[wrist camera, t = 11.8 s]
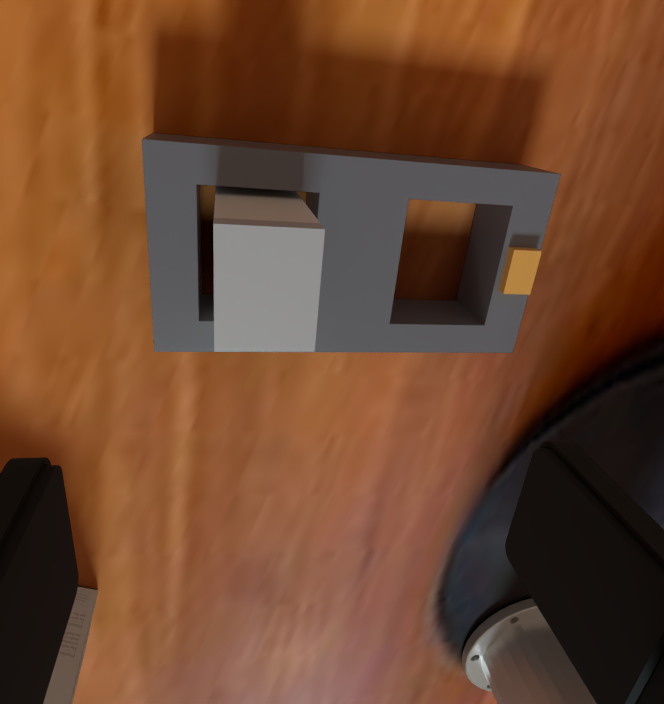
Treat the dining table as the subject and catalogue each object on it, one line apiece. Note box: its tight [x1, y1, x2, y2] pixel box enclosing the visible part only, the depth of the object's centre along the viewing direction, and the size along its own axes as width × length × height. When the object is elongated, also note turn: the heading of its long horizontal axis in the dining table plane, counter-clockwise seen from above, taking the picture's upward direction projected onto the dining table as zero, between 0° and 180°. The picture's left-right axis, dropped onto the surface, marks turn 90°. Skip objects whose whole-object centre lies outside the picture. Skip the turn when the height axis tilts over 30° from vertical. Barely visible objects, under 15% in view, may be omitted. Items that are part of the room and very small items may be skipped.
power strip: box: [142, 133, 561, 353], centre depth 28 cm, size 20×10×5 cm, turn 84°
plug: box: [213, 186, 325, 352], centre depth 24 cm, size 4×5×10 cm
